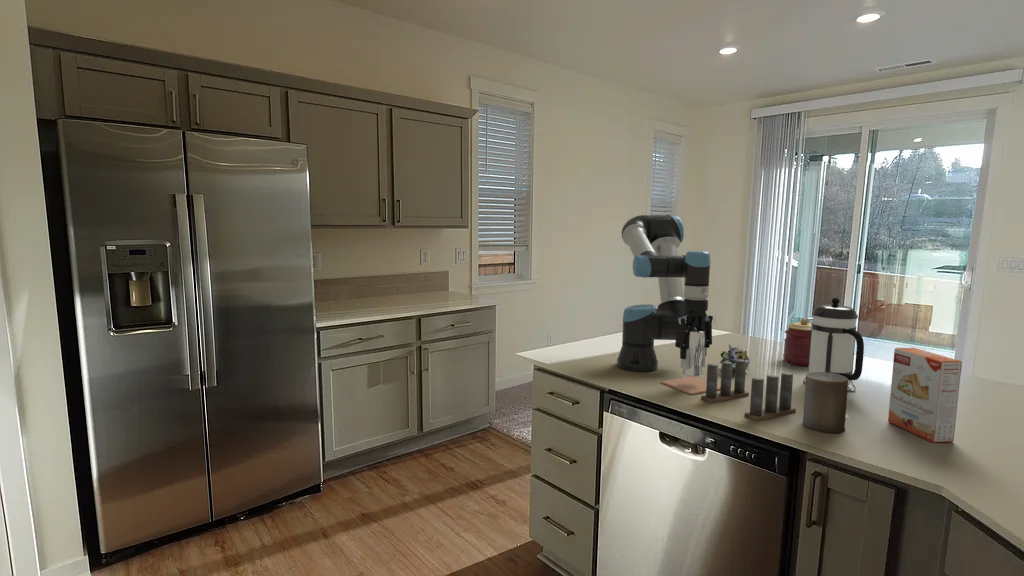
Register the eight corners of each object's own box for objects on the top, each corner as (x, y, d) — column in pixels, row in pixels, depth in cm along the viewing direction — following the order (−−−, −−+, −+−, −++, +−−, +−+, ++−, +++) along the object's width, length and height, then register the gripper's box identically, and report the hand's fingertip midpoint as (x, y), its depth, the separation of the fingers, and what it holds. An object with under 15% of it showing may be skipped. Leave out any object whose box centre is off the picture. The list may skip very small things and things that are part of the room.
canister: (785, 356, 211) (788, 314, 209) (822, 361, 204) (825, 317, 201) (780, 363, 201) (783, 318, 198) (818, 368, 193) (822, 322, 191)
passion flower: (740, 388, 186) (738, 367, 179) (713, 376, 194) (709, 355, 187) (757, 368, 190) (755, 346, 183) (729, 357, 198) (726, 335, 191)
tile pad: (661, 382, 174) (661, 381, 174) (692, 377, 180) (692, 376, 180) (691, 395, 162) (691, 393, 162) (723, 389, 168) (723, 387, 168)
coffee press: (796, 387, 170) (803, 298, 166) (809, 377, 181) (815, 293, 178) (859, 399, 158) (867, 303, 155) (868, 388, 170) (876, 298, 166)
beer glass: (705, 377, 167) (707, 332, 165) (682, 376, 168) (684, 331, 166) (701, 372, 173) (703, 328, 172) (680, 370, 175) (681, 327, 173)
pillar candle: (853, 431, 134) (858, 375, 132) (824, 435, 131) (828, 377, 129) (821, 418, 143) (825, 365, 141) (793, 421, 140) (797, 368, 139)
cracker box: (886, 422, 140) (893, 347, 138) (906, 421, 141) (914, 346, 138) (932, 443, 126) (940, 360, 124) (954, 442, 127) (963, 360, 124)
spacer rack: (701, 398, 158) (702, 364, 157) (738, 392, 165) (740, 358, 164) (756, 421, 140) (759, 381, 139) (795, 412, 147) (798, 374, 146)
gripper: (681, 301, 160) (678, 373, 163) (726, 298, 168) (723, 366, 171) (664, 298, 167) (662, 367, 170) (709, 295, 175) (705, 361, 178)
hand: (692, 367), depth 170 cm, fingers closed on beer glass, 6 cm apart
